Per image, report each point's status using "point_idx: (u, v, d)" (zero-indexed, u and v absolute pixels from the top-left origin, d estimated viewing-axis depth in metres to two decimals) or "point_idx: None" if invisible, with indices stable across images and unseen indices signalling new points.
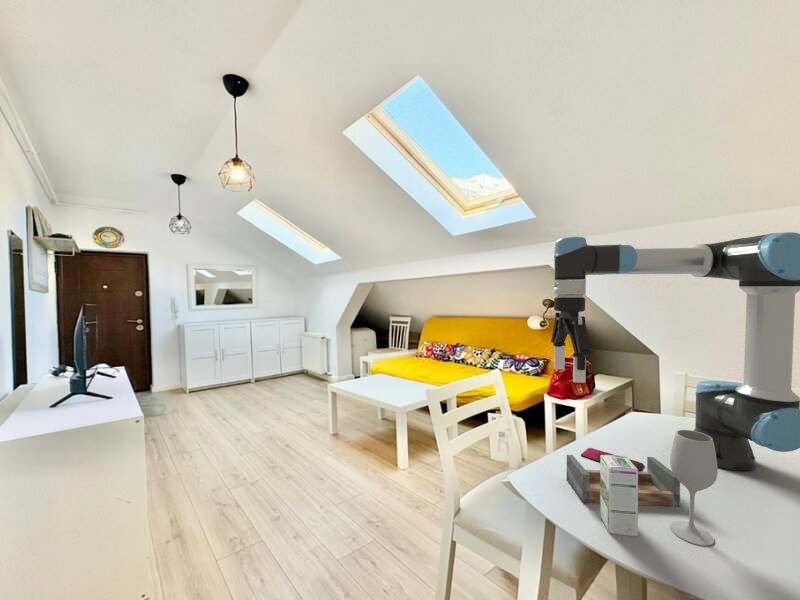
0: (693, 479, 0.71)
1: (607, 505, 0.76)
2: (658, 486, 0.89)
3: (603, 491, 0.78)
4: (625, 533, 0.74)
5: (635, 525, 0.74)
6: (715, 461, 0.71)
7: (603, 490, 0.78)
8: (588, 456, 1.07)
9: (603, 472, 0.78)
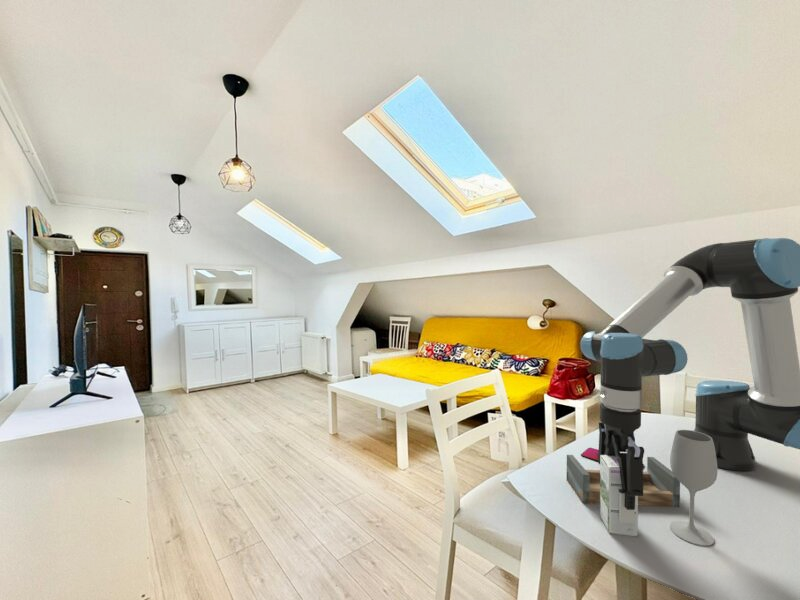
0: (693, 479, 0.71)
1: (607, 505, 0.76)
2: (658, 486, 0.89)
3: (603, 491, 0.78)
4: (625, 533, 0.74)
5: (635, 525, 0.74)
6: (715, 461, 0.71)
7: (603, 490, 0.78)
8: (588, 456, 1.08)
9: (603, 472, 0.78)
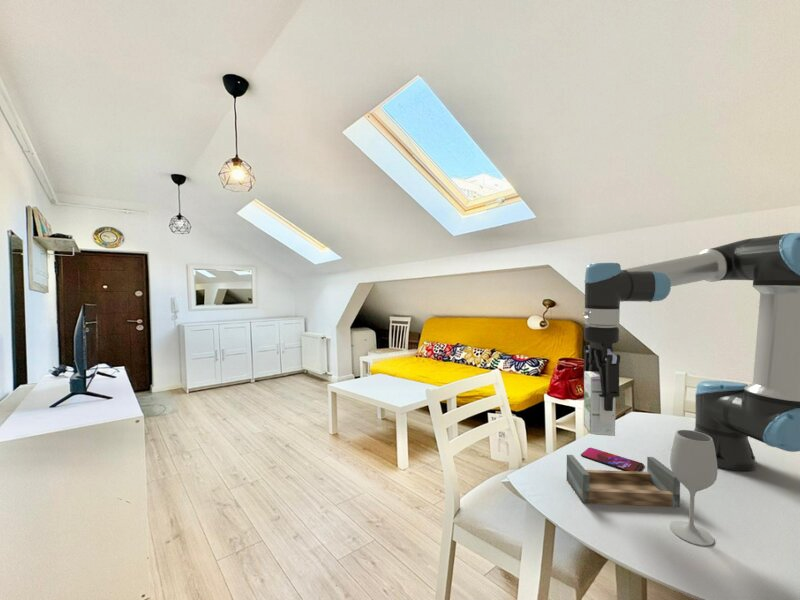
0: (693, 479, 0.71)
1: (589, 410, 0.88)
2: (658, 486, 0.89)
3: (586, 400, 0.90)
4: (604, 433, 0.87)
5: (612, 426, 0.86)
6: (715, 461, 0.71)
7: (586, 400, 0.90)
8: (588, 456, 1.08)
9: (586, 384, 0.90)
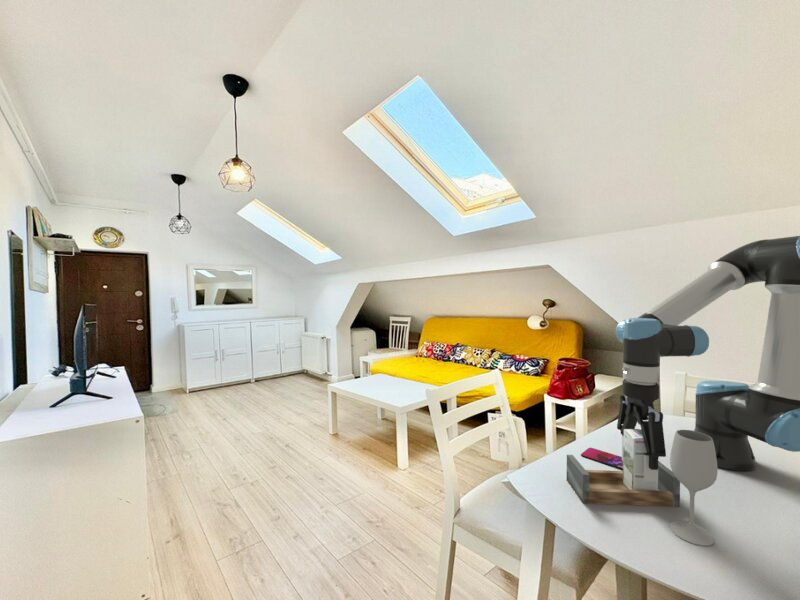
0: (693, 479, 0.71)
1: (631, 471, 0.87)
2: (658, 486, 0.89)
3: (627, 460, 0.89)
4: None
5: (655, 488, 0.86)
6: (715, 461, 0.71)
7: (627, 459, 0.89)
8: (588, 456, 1.08)
9: (627, 443, 0.89)
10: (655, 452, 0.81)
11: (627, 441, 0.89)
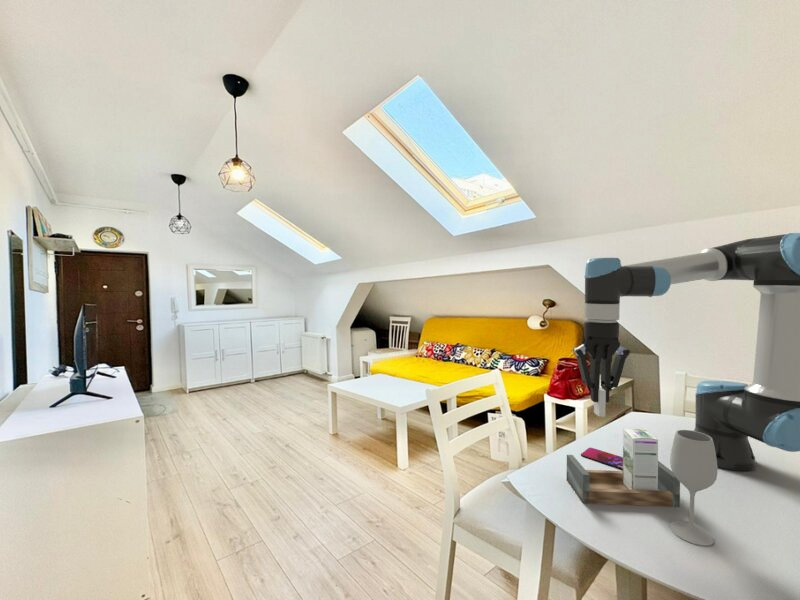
0: (693, 479, 0.71)
1: (631, 471, 0.87)
2: (658, 486, 0.89)
3: (626, 460, 0.89)
4: None
5: (655, 488, 0.86)
6: (715, 461, 0.71)
7: (626, 459, 0.89)
8: (588, 456, 1.08)
9: (626, 443, 0.89)
10: None
11: (627, 441, 0.89)
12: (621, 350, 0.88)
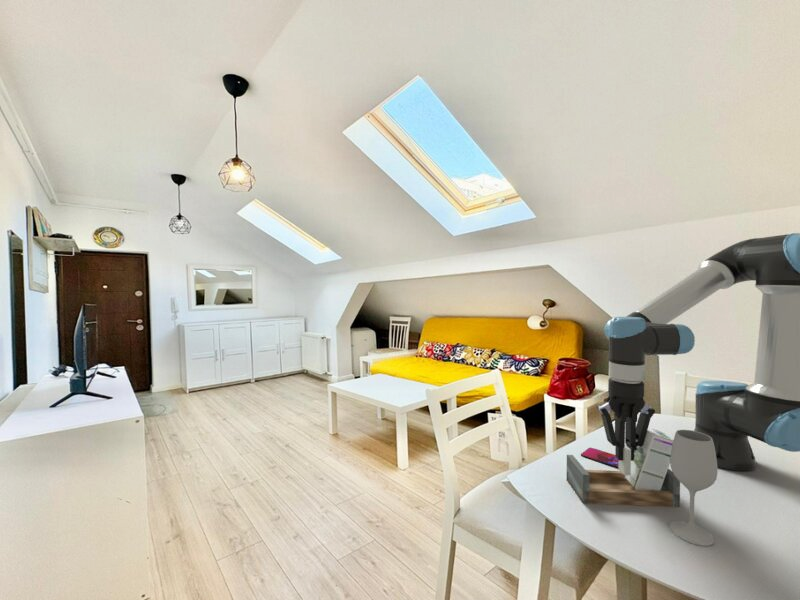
0: (693, 479, 0.71)
1: (640, 466, 0.87)
2: None
3: (637, 455, 0.89)
4: None
5: (658, 488, 0.85)
6: (715, 461, 0.71)
7: (637, 454, 0.89)
8: (588, 456, 1.08)
9: None
10: (607, 438, 0.90)
11: None
12: (646, 409, 0.88)
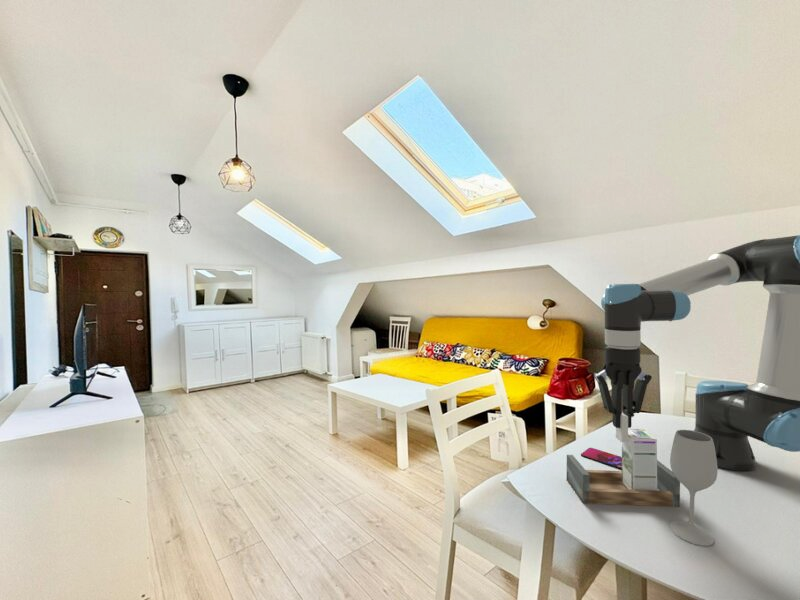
0: (693, 479, 0.71)
1: (630, 472, 0.87)
2: (658, 486, 0.89)
3: (626, 460, 0.89)
4: None
5: (655, 487, 0.86)
6: (715, 461, 0.71)
7: (626, 459, 0.89)
8: (588, 456, 1.08)
9: (625, 444, 0.89)
10: (604, 406, 0.90)
11: None
12: (642, 375, 0.88)
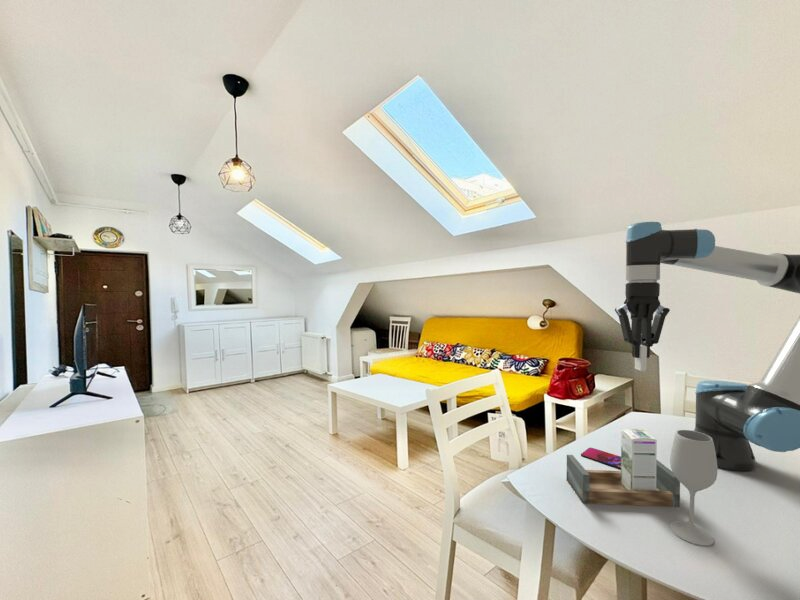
0: (693, 479, 0.71)
1: (630, 472, 0.87)
2: (658, 486, 0.89)
3: (625, 460, 0.89)
4: None
5: (654, 488, 0.86)
6: (715, 461, 0.71)
7: (625, 460, 0.89)
8: (588, 456, 1.08)
9: (625, 444, 0.89)
10: (624, 339, 0.97)
11: (625, 441, 0.89)
12: (661, 309, 0.94)
